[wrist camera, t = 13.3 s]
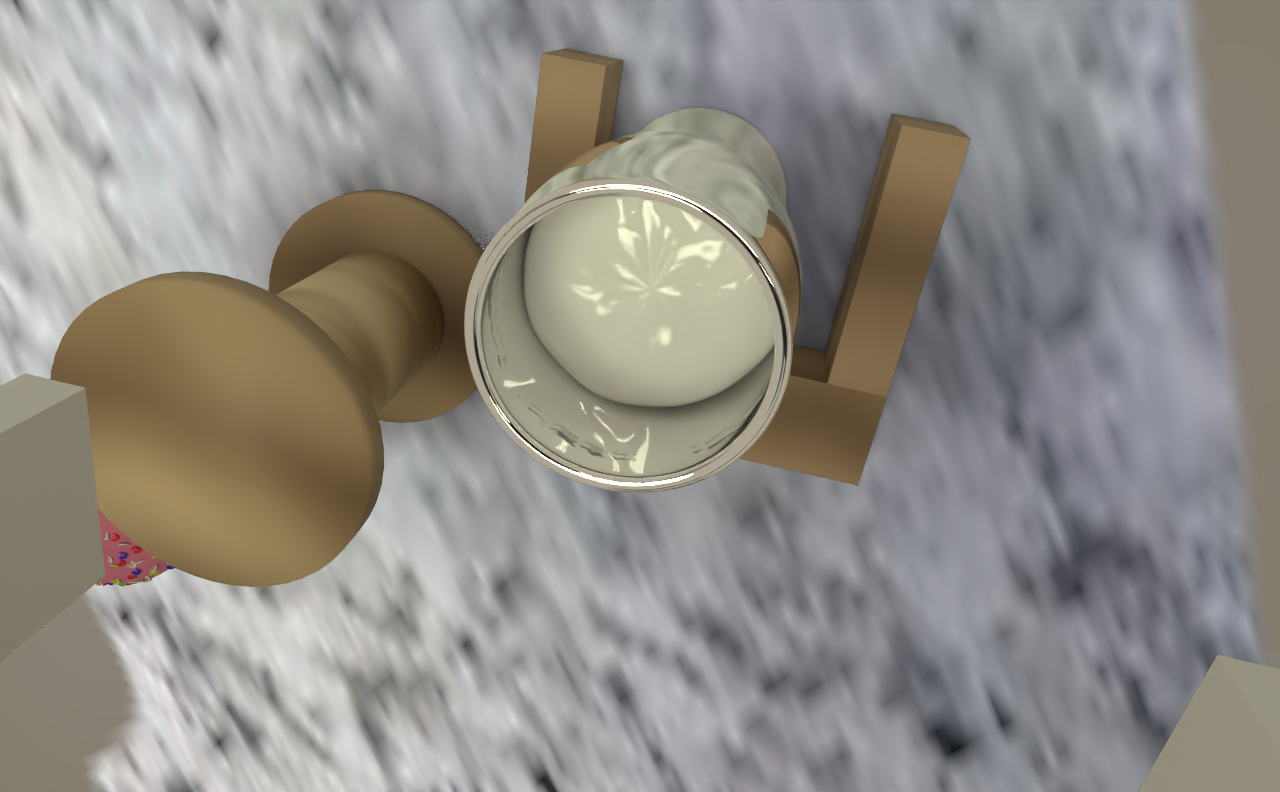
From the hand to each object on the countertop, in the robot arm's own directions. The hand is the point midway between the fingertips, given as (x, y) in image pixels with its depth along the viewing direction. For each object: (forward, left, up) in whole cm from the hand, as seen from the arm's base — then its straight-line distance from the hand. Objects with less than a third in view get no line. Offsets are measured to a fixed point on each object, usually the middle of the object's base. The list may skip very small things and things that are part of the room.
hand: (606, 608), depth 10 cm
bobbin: (-6, +12, -23) cm, 26 cm away
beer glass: (0, +1, -23) cm, 23 cm away
